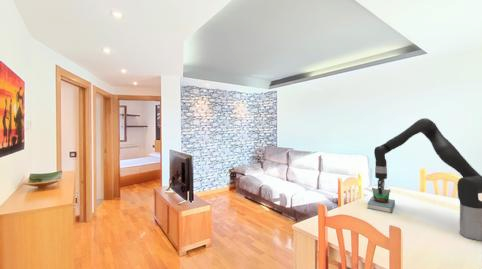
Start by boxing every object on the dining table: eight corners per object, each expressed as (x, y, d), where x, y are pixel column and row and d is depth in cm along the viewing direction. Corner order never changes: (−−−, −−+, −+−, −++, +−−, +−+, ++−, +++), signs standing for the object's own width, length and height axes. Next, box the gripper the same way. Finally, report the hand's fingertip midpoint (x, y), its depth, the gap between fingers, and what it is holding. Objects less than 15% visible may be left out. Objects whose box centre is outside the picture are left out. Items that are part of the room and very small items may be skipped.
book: (391, 213, 150) (391, 207, 150) (367, 208, 160) (367, 203, 160) (394, 205, 165) (394, 200, 165) (372, 201, 175) (372, 196, 175)
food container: (372, 201, 161) (372, 188, 161) (371, 199, 167) (371, 187, 167) (391, 204, 155) (391, 190, 155) (390, 202, 161) (390, 188, 161)
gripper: (385, 174, 154) (385, 196, 154) (388, 171, 164) (388, 191, 165) (373, 172, 158) (373, 194, 159) (376, 169, 169) (377, 190, 170)
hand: (381, 192), depth 162 cm, fingers open, 8 cm apart
